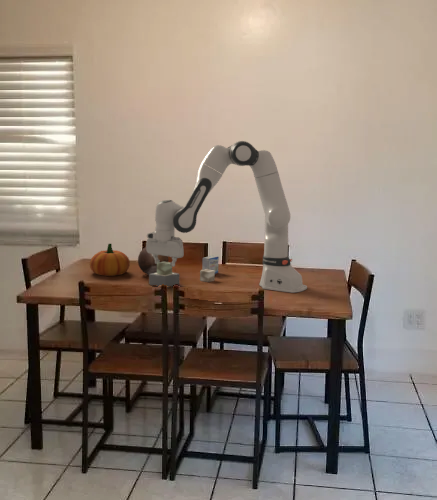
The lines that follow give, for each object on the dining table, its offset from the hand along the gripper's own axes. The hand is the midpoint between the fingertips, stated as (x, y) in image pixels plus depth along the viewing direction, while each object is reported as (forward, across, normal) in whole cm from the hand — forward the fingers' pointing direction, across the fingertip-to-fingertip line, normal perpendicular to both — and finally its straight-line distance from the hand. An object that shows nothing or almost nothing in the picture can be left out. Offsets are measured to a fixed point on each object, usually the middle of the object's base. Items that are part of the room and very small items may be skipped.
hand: (164, 264), depth 284 cm
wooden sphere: (+9, +17, -11) cm, 22 cm away
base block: (+9, 0, 0) cm, 9 cm away
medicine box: (+10, -2, -33) cm, 34 cm away
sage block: (+4, 0, 0) cm, 4 cm away
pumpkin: (+9, +35, +1) cm, 37 cm away
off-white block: (+10, -10, -20) cm, 24 cm away
